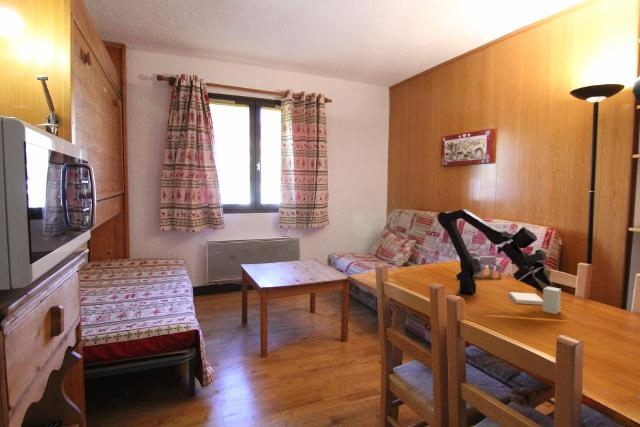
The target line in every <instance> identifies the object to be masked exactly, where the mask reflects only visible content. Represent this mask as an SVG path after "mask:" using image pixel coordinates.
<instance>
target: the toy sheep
mask: <svg viewBox="0 0 640 427" xmlns="http://www.w3.org/2000/svg"><path fill="white" fill-rule="evenodd" d="M468 252H469V254H470V256H471V257H472V258H473V259H476V258H477V259H478V262H479V264H480V265H481V267H480V268H481V272H480V279H484V271H486V266H487V265H488V267H487V268H488V270H489V274H490V275H489V276H490V277H489V278H490V279H493V278H494V270H495V268H496V269H497V270H498V278H499V279H501V278H502V270H503V268H504V267H503V265H502V264H498V263H497V262H496V261H497V257H496V256H494V255H481V254H480V253H478V252H475V251H468Z"/></svg>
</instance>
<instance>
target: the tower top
mask: <svg viewBox="0 0 640 427" xmlns="http://www.w3.org/2000/svg"><path fill="white" fill-rule="evenodd" d="M509 295H510V296H511V298H512V299H513V300H514V301H515V302H516V303H521V304H520V305H523V304H537V305H536V306H539V305H543V298H542V297H540V296H539V295H537V294H536V293H529V292H512V291H511V292H509Z"/></svg>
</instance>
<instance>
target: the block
mask: <svg viewBox="0 0 640 427" xmlns="http://www.w3.org/2000/svg"><path fill="white" fill-rule="evenodd" d="M542 294H543V296H542V300H543V306H542V312H545V313H549V314H554V315H557V314H559V313H560V312H561V301H562V300H561V299H562V298H561V297H562V288H557V287H554V286H553V287H552V286H550V287H548V286H547V287H546V288H544V289H543V292H542Z"/></svg>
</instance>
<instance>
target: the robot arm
mask: <svg viewBox="0 0 640 427" xmlns="http://www.w3.org/2000/svg"><path fill="white" fill-rule="evenodd" d="M436 218H437V221H438V223H439V225H440V227H442V229H444V230H445V231H446V232H447V235H448V236H449V237H448V238H450V239H449V240H450V241H451V243H452V245H453V247H454V249H455V252H456V254H457V256H458V258H459V265H460V266H459V268H460V272H459V273H458V274H456V279H457V281H458V289H457V291H458V293H459V294H460V295H471V296H473V295H474V293H477V283H476V279H477V278H478V276H479V275H481V268H480V267H481V265H480V264H479V262H478V259H477V258H476V259H473V258H472V257H471V256H470V254H469V252H470V251H469V250H468V247H467V246H466V244H465V241H464V239H463V237H462V236H461V233H460V231H459V229H458V220H460V219H461V220H463V221H465V223H467V224H468V225H470V226H472V227H473V228H475V229H476V230H478V231H479V232H481V233H482V234H484V236H485V237H486V239H487V240H488V241H490V243H492V244H493V245H496V246H497V245H498V246H497V251H496V253H497V254H502V253H503V254H504V255H505V256H506V257H507V258H508V259H509V260H510V263H511V265H514V266H515V267H516V268H517V269H518V270H516V271H515V272H513V275H512V276H513V278H514V279H515V280H516V281H519V282H521V283H523V284H525V285H527V286H530V287H531V288H534V289H535V290H536V289H538V290H540V291H542V290H543V288H542V286H541V285H540V284H539V282H538V280H540V281H541V282H543V283H544V284H546V285H548V286H550V287H552V285H553V284H552V282H551V280H549V279H548V277H547V275H546V273H545V268H547V264H546V262H545V260H548V257H547V253H546V252H545V251H544V250H542V249H541V248H540V249H537V250H535V252H534V253H532V254H529V253H528V252H524V251H523V250H522V249H527V248H529V247H530V246H531V245H532V244H534V243H535V242H536V241H538V237H537V235H536V234H535V233H534V232H532V231H531V230H529V229H527V228H526V227H525V226H522V227H521V228H519V230H518V231H517V232H515V234H513V233H509V232H508V231H507V230H505V229H502V228H500V227H497V226H494V225H491V224H489V223H488V222H486V221H485V220H483V219H481V218H480V217H478V216H477V215H475V214H474V213H473V212H470V211H469V210H468V209H466V208H462V209H459V210H455V211H448V210H447V211H441V212H439V213H438V215H437V217H436ZM510 241H511V242H510ZM502 244H503V245H502ZM499 245H502V246H499Z"/></svg>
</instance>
